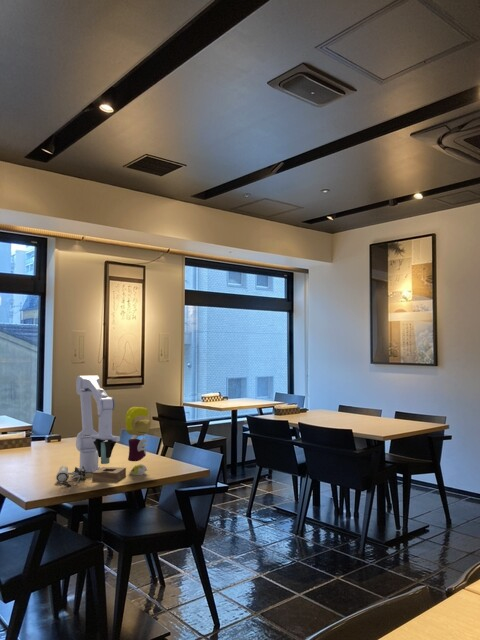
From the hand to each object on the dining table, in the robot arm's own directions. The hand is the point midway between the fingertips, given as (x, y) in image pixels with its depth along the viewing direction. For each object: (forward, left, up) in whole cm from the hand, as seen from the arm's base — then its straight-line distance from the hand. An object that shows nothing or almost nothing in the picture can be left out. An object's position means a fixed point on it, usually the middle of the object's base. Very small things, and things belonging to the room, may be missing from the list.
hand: (104, 457), depth 219 cm
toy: (-16, +9, -10) cm, 21 cm away
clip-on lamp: (+7, -12, -10) cm, 17 cm away
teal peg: (0, 0, -2) cm, 3 cm away
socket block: (-2, +1, -9) cm, 10 cm away
